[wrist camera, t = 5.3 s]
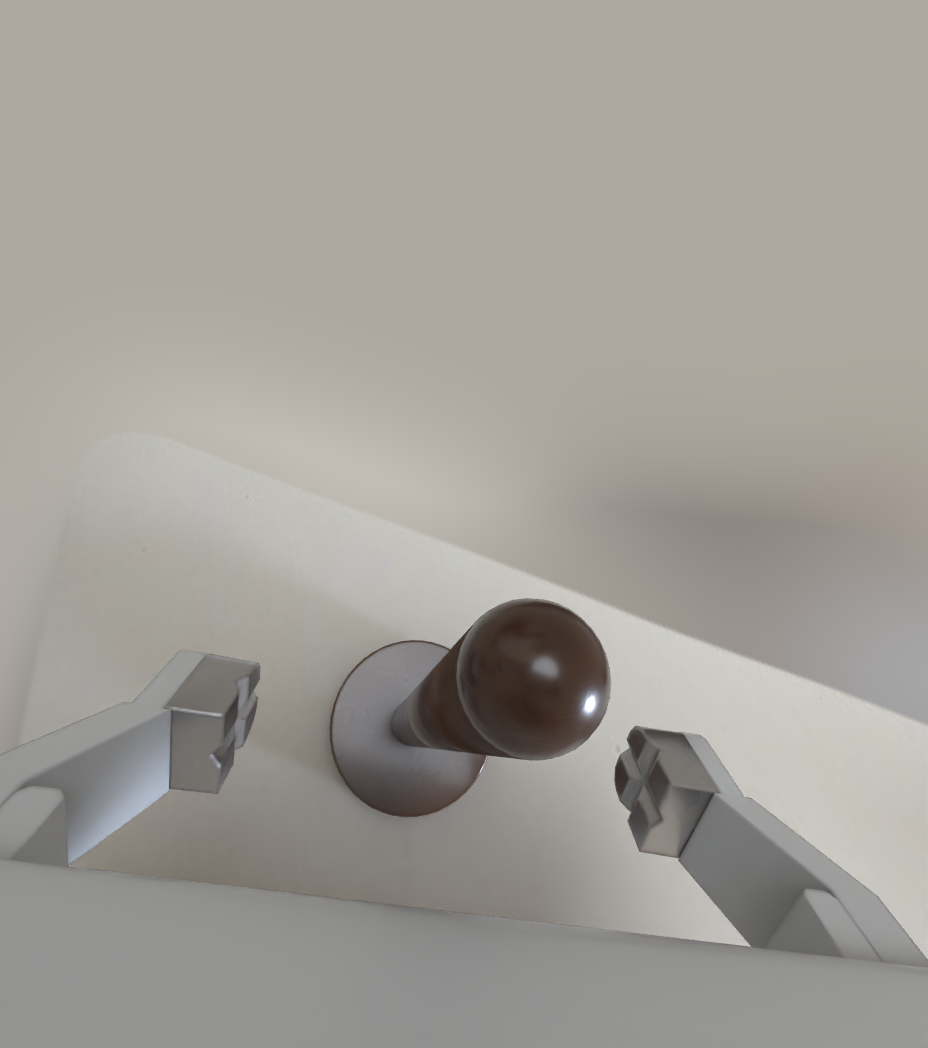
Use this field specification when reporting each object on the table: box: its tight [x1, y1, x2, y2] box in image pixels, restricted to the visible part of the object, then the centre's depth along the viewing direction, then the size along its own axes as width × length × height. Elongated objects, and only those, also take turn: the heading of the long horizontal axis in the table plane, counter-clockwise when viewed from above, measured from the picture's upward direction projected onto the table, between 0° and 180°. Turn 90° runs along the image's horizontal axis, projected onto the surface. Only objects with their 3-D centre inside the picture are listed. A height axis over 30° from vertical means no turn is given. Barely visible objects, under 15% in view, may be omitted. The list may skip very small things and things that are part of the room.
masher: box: [330, 598, 611, 817], centre depth 12 cm, size 6×6×17 cm
